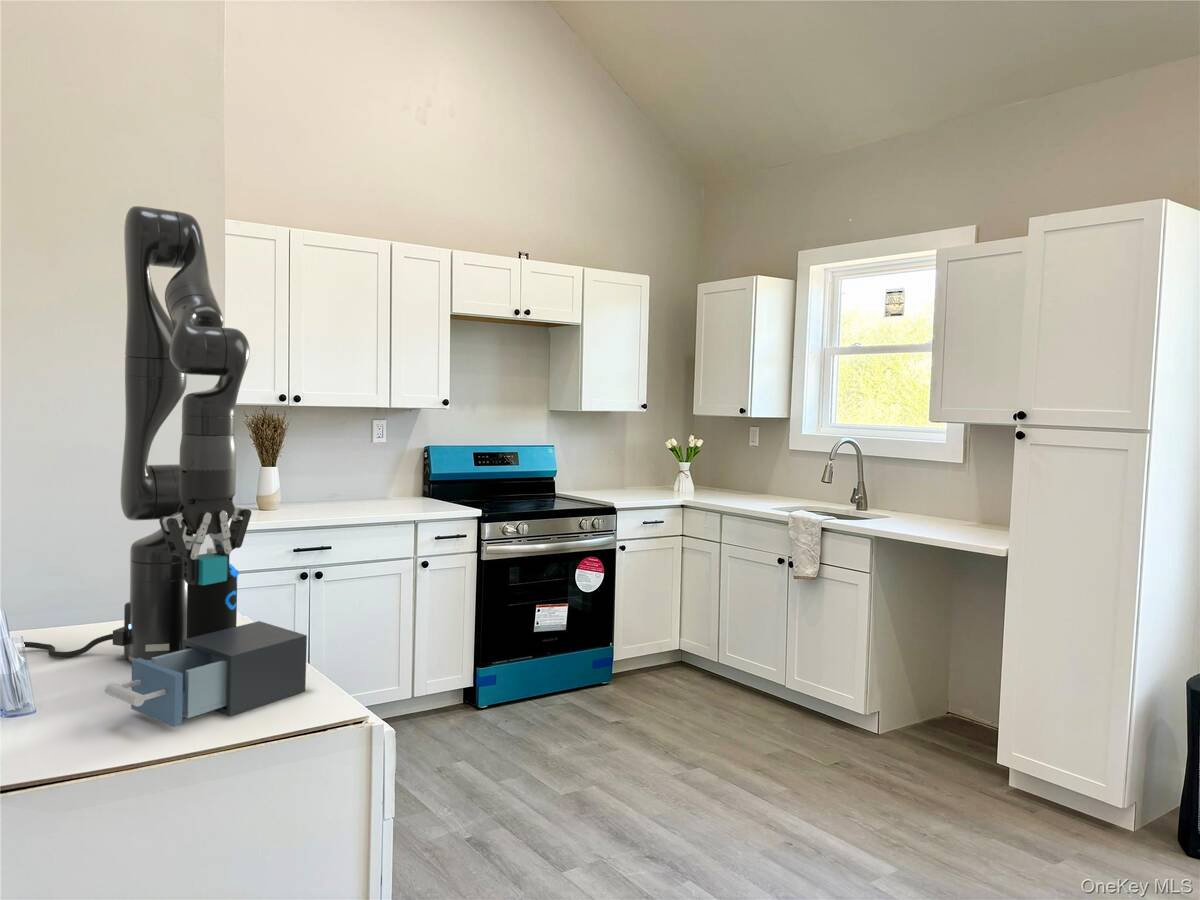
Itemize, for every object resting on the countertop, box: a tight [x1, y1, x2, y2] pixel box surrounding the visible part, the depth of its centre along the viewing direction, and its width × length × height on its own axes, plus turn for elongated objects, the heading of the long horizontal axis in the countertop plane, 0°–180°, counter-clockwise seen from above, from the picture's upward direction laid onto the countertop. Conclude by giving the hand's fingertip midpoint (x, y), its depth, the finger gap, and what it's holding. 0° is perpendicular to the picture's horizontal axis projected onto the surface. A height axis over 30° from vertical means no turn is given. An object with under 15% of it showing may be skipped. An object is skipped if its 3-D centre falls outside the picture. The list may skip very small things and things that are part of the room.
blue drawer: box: [104, 648, 228, 728], centre depth 129 cm, size 17×10×7 cm, turn 148°
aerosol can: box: [187, 546, 240, 639], centre depth 150 cm, size 8×8×20 cm
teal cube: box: [197, 552, 227, 585], centre depth 131 cm, size 4×4×4 cm
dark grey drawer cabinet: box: [183, 620, 308, 717], centre depth 138 cm, size 14×12×9 cm
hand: (206, 580), depth 131 cm, fingers closed on teal cube, 4 cm apart
